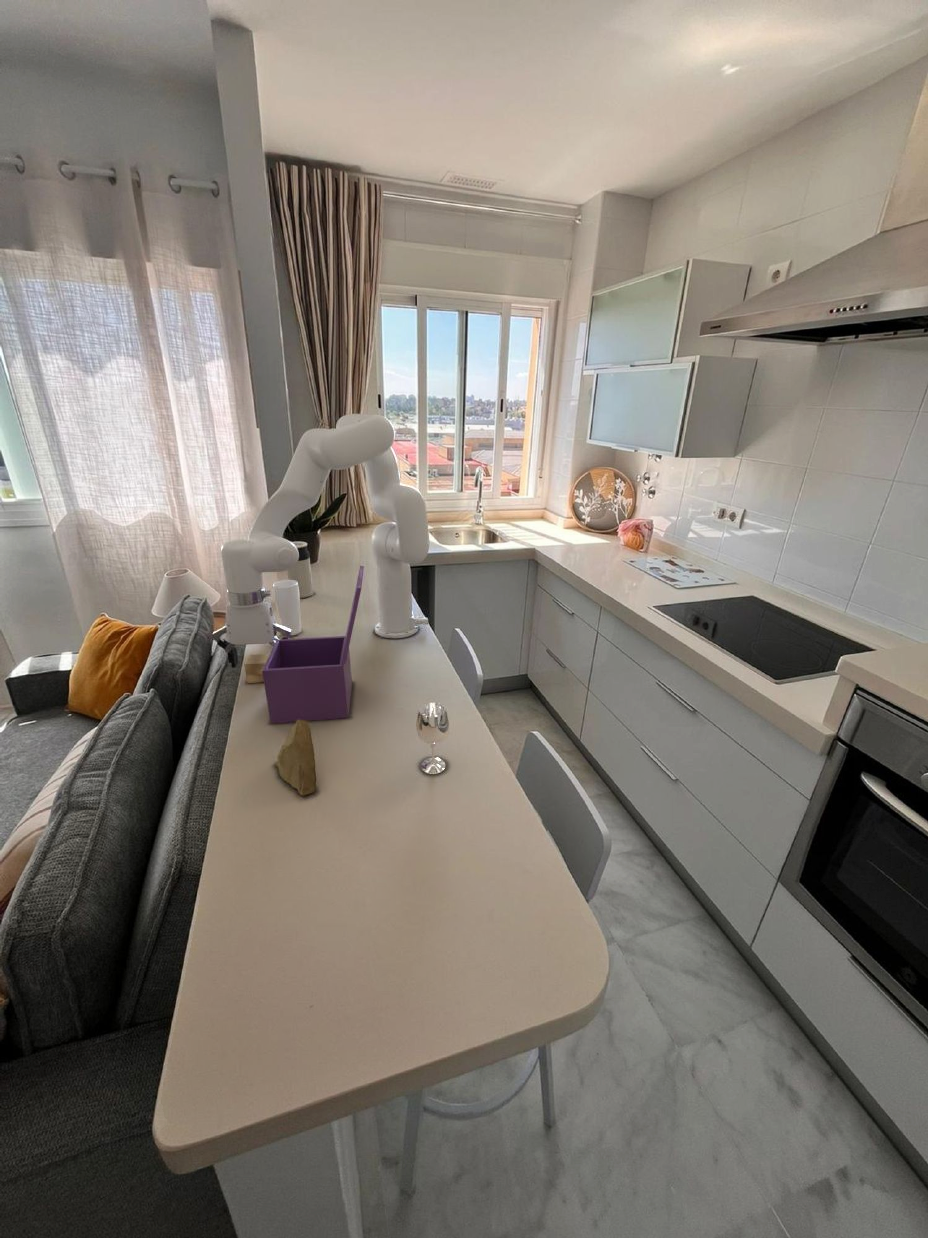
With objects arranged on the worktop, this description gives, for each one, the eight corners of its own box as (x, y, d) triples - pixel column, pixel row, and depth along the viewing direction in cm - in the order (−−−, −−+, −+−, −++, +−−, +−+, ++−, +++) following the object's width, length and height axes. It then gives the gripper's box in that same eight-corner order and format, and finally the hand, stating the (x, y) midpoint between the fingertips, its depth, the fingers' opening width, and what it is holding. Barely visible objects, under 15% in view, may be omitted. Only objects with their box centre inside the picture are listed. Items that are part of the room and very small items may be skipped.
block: (274, 671, 122) (271, 653, 120) (269, 681, 117) (266, 663, 115) (252, 673, 121) (249, 654, 119) (247, 683, 116) (244, 664, 114)
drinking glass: (296, 638, 139) (290, 588, 134) (274, 636, 141) (267, 586, 135) (308, 629, 146) (302, 580, 140) (287, 627, 147) (280, 578, 141)
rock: (330, 785, 81) (336, 741, 90) (292, 757, 77) (301, 715, 86) (282, 816, 84) (292, 770, 92) (242, 791, 80) (256, 746, 88)
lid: (357, 587, 93) (361, 588, 93) (360, 565, 106) (363, 566, 107) (341, 663, 99) (345, 664, 99) (346, 633, 112) (349, 634, 112)
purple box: (270, 723, 101) (261, 670, 97) (283, 687, 115) (276, 639, 110) (348, 718, 104) (343, 665, 99) (352, 683, 117) (348, 635, 112)
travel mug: (309, 598, 169) (303, 547, 162) (286, 598, 169) (279, 546, 162) (316, 590, 176) (310, 541, 170) (294, 590, 177) (287, 541, 170)
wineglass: (453, 759, 91) (453, 704, 87) (442, 779, 86) (441, 722, 82) (424, 753, 93) (423, 698, 89) (412, 772, 88) (410, 715, 83)
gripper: (289, 589, 116) (297, 655, 122) (211, 591, 113) (222, 658, 119) (283, 600, 109) (292, 669, 115) (199, 603, 106) (213, 673, 112)
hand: (256, 664), depth 117 cm, fingers open, 9 cm apart
